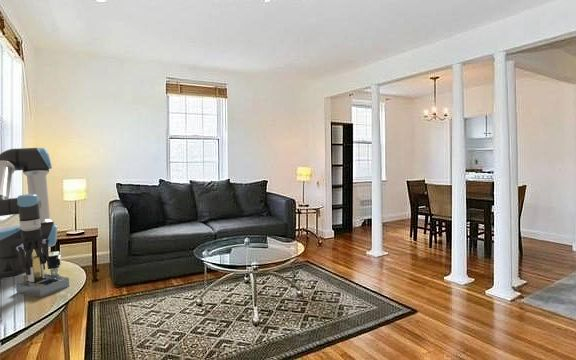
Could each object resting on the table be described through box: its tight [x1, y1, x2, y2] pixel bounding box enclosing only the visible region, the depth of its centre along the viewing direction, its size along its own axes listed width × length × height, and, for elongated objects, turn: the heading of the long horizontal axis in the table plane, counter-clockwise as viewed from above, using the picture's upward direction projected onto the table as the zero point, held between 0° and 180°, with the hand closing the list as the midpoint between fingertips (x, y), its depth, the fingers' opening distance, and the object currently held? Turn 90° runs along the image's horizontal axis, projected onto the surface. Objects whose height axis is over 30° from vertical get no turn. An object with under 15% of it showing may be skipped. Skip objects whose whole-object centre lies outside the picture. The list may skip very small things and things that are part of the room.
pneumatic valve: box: [46, 250, 63, 276], centre depth 180 cm, size 6×12×12 cm, turn 28°
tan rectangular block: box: [31, 255, 42, 283], centre depth 162 cm, size 4×4×12 cm
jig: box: [15, 273, 70, 298], centre depth 162 cm, size 16×13×4 cm
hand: (36, 279), depth 163 cm, fingers closed on tan rectangular block, 4 cm apart
